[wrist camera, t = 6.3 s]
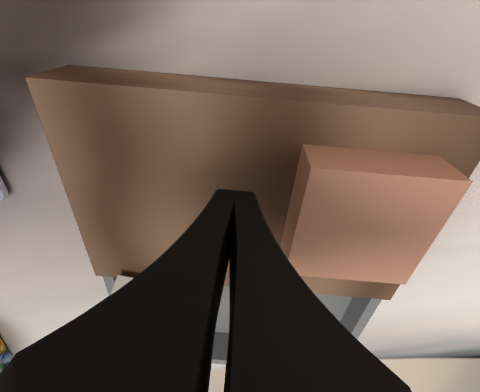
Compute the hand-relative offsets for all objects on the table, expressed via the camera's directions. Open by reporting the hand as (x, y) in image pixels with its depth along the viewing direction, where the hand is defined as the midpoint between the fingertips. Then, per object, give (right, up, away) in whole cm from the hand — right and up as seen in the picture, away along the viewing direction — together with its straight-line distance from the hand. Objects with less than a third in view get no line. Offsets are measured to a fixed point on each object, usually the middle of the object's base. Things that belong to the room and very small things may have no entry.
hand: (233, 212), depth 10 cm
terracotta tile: (+5, 0, +1) cm, 5 cm away
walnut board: (+1, +1, +4) cm, 4 cm away
